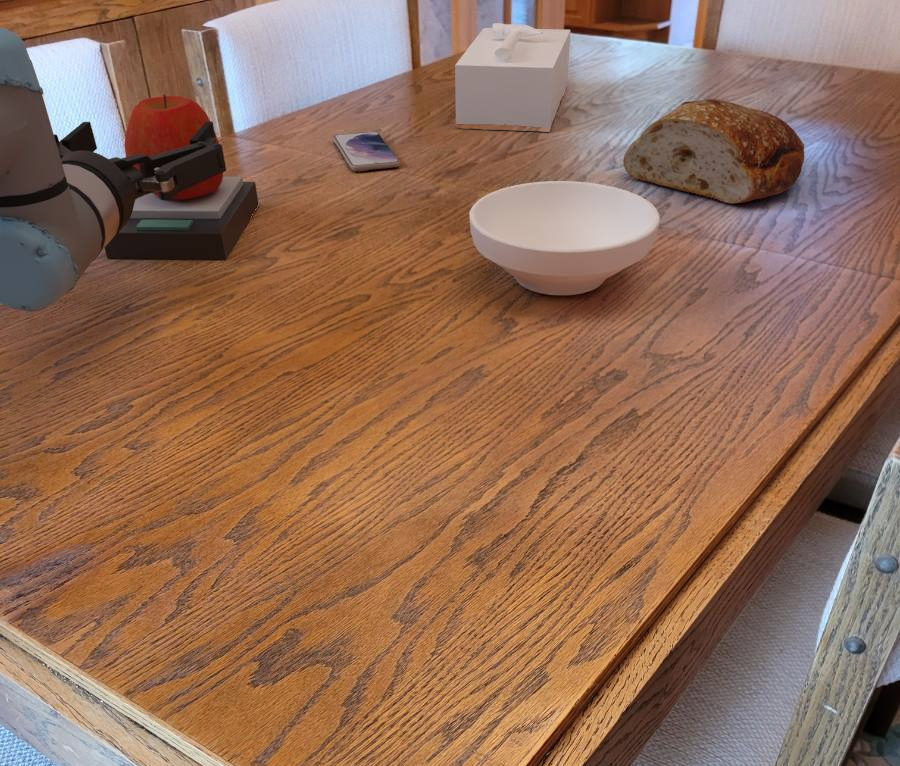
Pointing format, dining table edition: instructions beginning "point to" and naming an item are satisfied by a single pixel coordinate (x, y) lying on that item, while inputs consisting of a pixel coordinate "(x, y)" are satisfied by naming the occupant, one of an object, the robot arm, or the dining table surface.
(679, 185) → the bread
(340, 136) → the smartphone
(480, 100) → the tissue box
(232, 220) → the scale
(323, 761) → the dining table surface
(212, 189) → the apple
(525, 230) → the bowl
